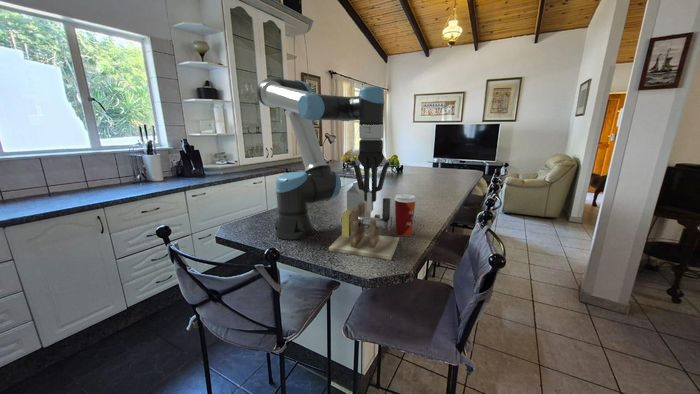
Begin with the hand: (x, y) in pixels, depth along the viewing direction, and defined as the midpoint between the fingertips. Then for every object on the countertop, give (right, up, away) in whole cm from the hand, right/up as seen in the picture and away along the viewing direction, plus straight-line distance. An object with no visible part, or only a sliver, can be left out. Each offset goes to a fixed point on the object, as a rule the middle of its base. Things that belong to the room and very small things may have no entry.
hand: (370, 210), depth 93 cm
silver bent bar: (-1, -6, +2) cm, 6 cm away
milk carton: (-3, -8, +23) cm, 24 cm away
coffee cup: (+14, -10, +15) cm, 23 cm away
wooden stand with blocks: (-1, -12, +4) cm, 13 cm away
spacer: (-7, -4, +4) cm, 9 cm away
